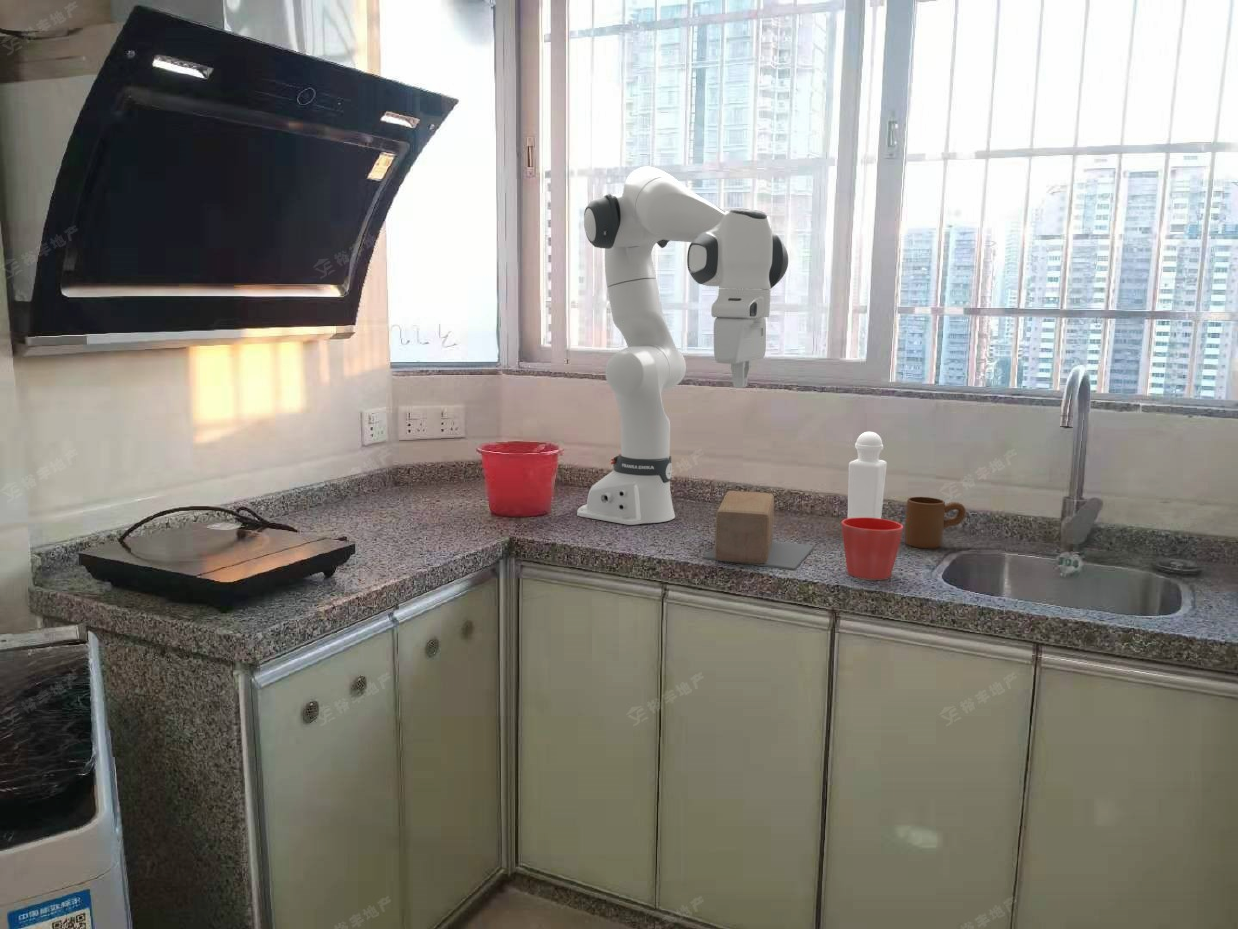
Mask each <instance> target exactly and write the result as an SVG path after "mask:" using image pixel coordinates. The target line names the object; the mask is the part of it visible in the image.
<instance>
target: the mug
mask: <svg viewBox="0 0 1238 929" xmlns="http://www.w3.org/2000/svg"><path fill="white" fill-rule="evenodd" d="M905 508H906V509H905V518H904V519H905V520H904V521H905V522H904V535H903V536H904V537H903V538H904V540H903V541H904V543H905V544H906V545H907V546H910V547H913V548H919V549H927V550H928V549H930V550H931V549H937V548H940V547H941V546H942V545H943V544H942V543H943V537H944V530H946V529H947V528H949V527H955V526H958V525H960V524H961V523H962V522H964V520H965V518H966V513H967V512H966V508H965V506H964V505H963V503H961V502H957V501H952V502H948V503H946V501H945V500H943V499H940V498H937V497H929V496H928V497H927V496H913V497H909V498H907V501H906V507H905ZM953 510H954V511H955V510H957V514H956V515H955V516H954V517H948V518H947V517H946V518H945V514H946V513H948V512H949V513H950V512H951V511H953Z"/></svg>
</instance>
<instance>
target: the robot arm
mask: <svg viewBox="0 0 1238 929" xmlns="http://www.w3.org/2000/svg"><path fill="white" fill-rule="evenodd" d="M583 214H584V215H583V226H584V231H585V232H584V233H585V234H586V238H587V240H588V242H590V244H591V245H592V246H593V247H594V248H597V249H604V273H605V280H606V281H605V282H606V288H607V293H608V294H607V295H608V300H609V305H610V312H611V317H612V321H613V323H614V325H615V327H616V328H617V329H618V330H619V331H620V333H621V335H622V336H623V339H624V340H625V342H626V346H627V347H624V348H623V349H620V350H618V351H617V352H616V353H614V354H613V355H612V356H610V358H609V359H608V361H607V363H606V366H605V371H604V372H605V379H606V382H607V385H608V386H609V388H610V389H612V391H613V392H614V395H615V398H616V402H617V403H616V404H617V407H618V411H619V417H620V431H621V432H620V437H621V438H620V442H621V443H620V453H619V454H617V455H616V456H615V457H613V458H612V459H610V461H611V462H610V465H612V467H613V468H612V469H613V470H612V471H610V472H609V473H608V474H606V475H605V476H604V477H602V478H601V479H599V480H598V481H597V482H595V483H594V484H593V485H592V486H591V487H590V489H589V491H588V495H587V502H586V504H583V505H582V506H580V507H578V509H577V511H576V515H577V516H578V517H581V518H587V519H593V520H599V521H600V520H601V521H606V522H610V523H611V522H612V523H617V524H621V525H623V524H624V525H629V526H632V525H633V526H634V525H640V524H641V525H642V524H656V523H663V522H669V521H672V520H674V519H675V518H676V515H675V510H674V506H673V501H672V493H671V492H672V491H671V481H672V473H673V472H672V471H673V469H672V468H673V465H672V456H671V455H670V454H671V453H670V452H671V421H670V418H669V417H668V416H667V413H666V412H665V409H664V403H663V400H662V393H664V392H668V391H670V390H672V389H673V388H675V387H676V386H677V385H679V384H680V383H681V382H682V381H683V379H684V377H685V376H686V372H687V364H686V359H685V357H684V355H683V354H682V353H681V352H680V351H679V349H678V348H677V346H676V345H675V344H676V343H675V341H674V339H673V337H672V334H671V332H670V330H669V327H668V324H667V322H666V320H665V316H664V312H663V308H662V302H661V299H660V291H659V288H658V283H657V281H658V280H657V276H656V272H655V271H656V270H655V268H654V263H653V258H652V251H653V248H654V247H655V245H656V244H657V245H658V246H659V248H661V249H663V248H665V247H667V245H668V243H669V242H683V243H684V242H686V243H690V244H689V246H688V249H687V257H686V260H687V261H686V264H687V269H688V272H689V275H690V276H691V277H692V279H693V280H694V281H695V282H696V284H699V285H703V286H707V287H718V289H717V291H718V293H717V294H718V295H717V298H716V299H715V301H714V302H712V305H711V310H710V311H711V317H712V318H715V319H714V320H713V353H714V354H713V355H714V359H715V362H716V364H725V365H726V364H727V365H728V364H729V365H730V370H731V373H732V387H733V388H734V389H735V388H736V389H742V388H746V387H747V386H748V382H749V381H748V378H749V374H750V372H751V371H750V370H751V367H752V365H751V364H752V361H754V360H755V361H756V360H759V359H760V360H761V359H763V358H765V356H766V350H767V323H766V319H765V318H769V317H770V309H771V291H772V288H774V287H775V286H776V285H777V284H778V283H779V282H780V281H781V280H782V279H783V278H784V275H785V274H786V272H787V270H788V266H789V255H788V251H787V249H786V248H787V247H786V246H785V244H784V243H783V241H782V239H781V238H780V237H779V236H778V235H777V234H776V233H773V227H772V221H771V218H770V216H769V215H768V214H767V213H766V212H763V211H760V210H756V209H755V210H754V209H749V208H747V209H746V208H730V209H728V210H726V211H725V210H723V209H722V208H719V207H718V206H716V205H714V204H713V203H711V202H709V201H708V200H706V199H704V198H703V197H701V196H699V195H698V194H696V193H695V192H693V191H692V190H690V189H689V188H688V187H687V186H685V185H683V183H682V182H680V181H679V180H677V179H676V178H675V177H674V176H672V175H670V174H669V173H667V172H665V171H663V170H661V169H658V168H656V167H653V166H642V167H639V168H637V169H635V170H633V171H631V173H630V174H629V175H628V176H627V178H626V180H625V182H624V185H623V192H622V193H617V194H613V195H612V194H611V193H608V194H606V195H603V196H600V197H598V198H595V199H593V200H591V201H590V202H589V203H588V205H587V206H586V207H585V210H584V213H583Z"/></svg>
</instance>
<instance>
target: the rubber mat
mask: <svg viewBox="0 0 1238 929" xmlns="http://www.w3.org/2000/svg"><path fill="white" fill-rule="evenodd" d="M814 549H815V545H812V544H804V543H794V542H786V541H779V540H772V541H771V545H770V550H769V554H768V559H767V561H766V562H765V563H762V564H761V563H747V562H734V561H726V562H727V563H728V562H729V563H737V564H743V565H751V566H759V567H766V568H767V567H769V568H775V569H783V570H789V571H791V570H792V571H796V569H797V568H798V567H799V566H800V565H801V564H802V562H803V561H804V560H805V559H806V558H807V557H808V555H809V554H811V552H812V551H813V550H814ZM714 554H715V546H714V547H712V549H710V550H709V551H708V552H706V553H705V554H704V555H702V559H705V560H711V561H712V560H713V561H720V560H718V559H716V558H715V555H714Z"/></svg>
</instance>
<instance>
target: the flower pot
mask: <svg viewBox="0 0 1238 929" xmlns="http://www.w3.org/2000/svg"><path fill="white" fill-rule="evenodd" d="M840 526H841V532H842V539H843V540H842V541H843V550H844V558H845V565H846V570H847V574H848V575H850V576H851V577H855V578H858V579H861V580H868V581H869V580H870V581H873V580H874V581H880V580H887V579H889V578H890V577H891V576H892V573H893V570H894V565H895V562H896V559H897V555H898V551H899V548H900V543H901V540H902V536H903V531H904V525H903V524H902V523H901V522H900V523H899V522H897V521H895V520H891V519H886V518H881V519H880V518H869V517H860V518H848V517H847V518H845V519H843V520H842V521H841V524H840Z"/></svg>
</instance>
